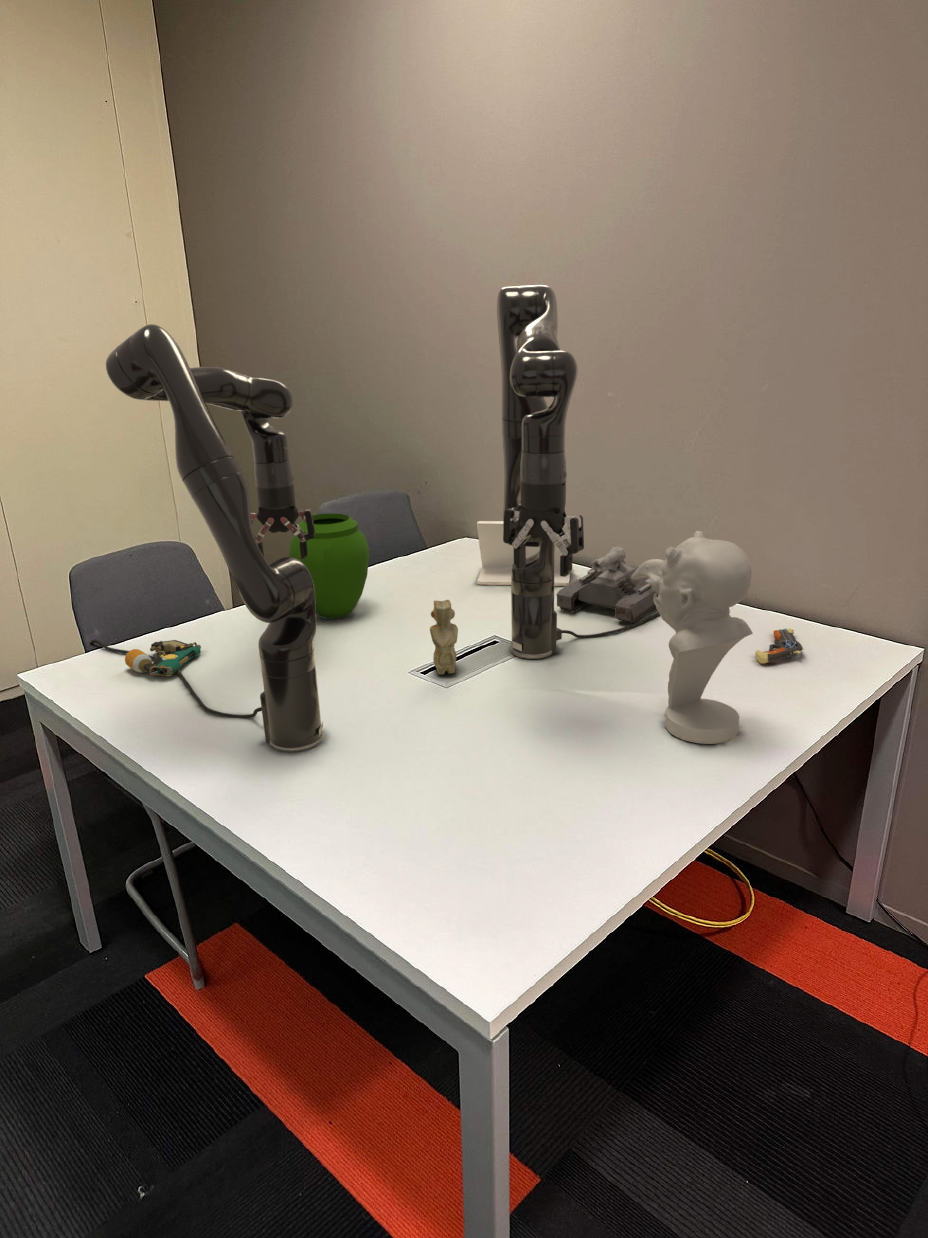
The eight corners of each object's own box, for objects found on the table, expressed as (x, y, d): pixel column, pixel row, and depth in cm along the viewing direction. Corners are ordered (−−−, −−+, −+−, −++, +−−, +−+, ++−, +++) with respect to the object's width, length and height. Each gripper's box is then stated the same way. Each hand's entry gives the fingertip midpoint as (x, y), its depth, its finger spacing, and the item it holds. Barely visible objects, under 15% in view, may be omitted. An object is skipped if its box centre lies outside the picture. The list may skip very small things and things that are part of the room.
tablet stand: (569, 585, 229) (570, 524, 223) (476, 584, 232) (475, 523, 226) (570, 566, 246) (571, 508, 240) (484, 564, 249) (483, 507, 243)
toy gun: (758, 654, 176) (809, 651, 174) (746, 627, 194) (792, 624, 192) (758, 667, 177) (809, 664, 175) (747, 638, 195) (793, 635, 193)
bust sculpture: (671, 682, 170) (682, 511, 158) (763, 732, 151) (784, 540, 138) (606, 701, 164) (613, 523, 151) (694, 755, 144) (709, 555, 131)
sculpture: (458, 662, 183) (456, 596, 178) (460, 676, 176) (457, 608, 171) (431, 663, 183) (428, 597, 177) (431, 677, 176) (428, 609, 171)
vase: (389, 608, 216) (383, 514, 208) (339, 633, 201) (330, 533, 192) (330, 596, 226) (322, 506, 218) (278, 619, 211) (267, 523, 202)
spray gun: (168, 648, 197) (219, 659, 191) (111, 671, 183) (165, 685, 177) (166, 630, 196) (218, 641, 190) (109, 653, 181) (164, 665, 176)
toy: (603, 584, 229) (605, 530, 224) (673, 597, 218) (677, 540, 213) (555, 612, 210) (556, 553, 205) (630, 627, 199) (633, 566, 194)
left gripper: (235, 488, 169) (245, 566, 175) (308, 485, 170) (315, 563, 176) (241, 480, 176) (250, 556, 182) (311, 477, 177) (318, 552, 183)
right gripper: (494, 478, 141) (495, 571, 147) (571, 486, 134) (569, 584, 140) (517, 470, 147) (517, 560, 153) (592, 477, 140) (590, 572, 145)
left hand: (282, 559), depth 179 cm, fingers open, 8 cm apart
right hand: (542, 571), depth 146 cm, fingers open, 8 cm apart
